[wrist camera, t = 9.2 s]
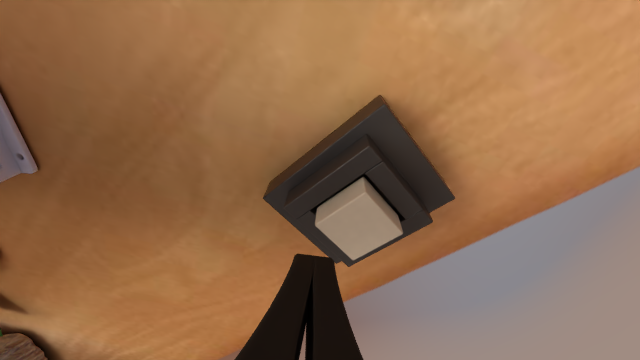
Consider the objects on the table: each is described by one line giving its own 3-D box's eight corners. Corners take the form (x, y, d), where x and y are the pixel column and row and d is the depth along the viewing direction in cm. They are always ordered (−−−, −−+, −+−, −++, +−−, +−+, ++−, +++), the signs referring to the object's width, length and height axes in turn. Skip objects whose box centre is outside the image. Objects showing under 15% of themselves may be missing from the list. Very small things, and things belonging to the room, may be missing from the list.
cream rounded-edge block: (352, 241, 18) (352, 261, 16) (316, 207, 17) (314, 225, 15) (398, 214, 16) (404, 234, 15) (363, 175, 15) (365, 192, 14)
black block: (336, 244, 23) (336, 283, 19) (269, 182, 20) (254, 214, 17) (444, 181, 19) (467, 215, 16) (379, 94, 16) (390, 112, 13)
